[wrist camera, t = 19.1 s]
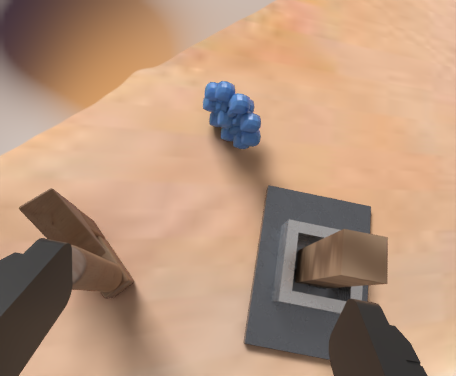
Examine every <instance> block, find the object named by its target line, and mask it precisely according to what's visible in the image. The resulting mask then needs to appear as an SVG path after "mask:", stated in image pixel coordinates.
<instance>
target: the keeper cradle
mask: <svg viewBox="0 0 456 376" xmlns="http://www.w3.org/2000/svg"><path fill="white" fill-rule="evenodd" d="M370 216H371V207H370V206H366V205H361V204H356V203H351V202H346V201H342V200H337V199H332V198H327V197H322V196H317V195H313V194H308V193H303V192H298V191H293V190H288V189H284V188H279V187H274V186H269V185H268V187H267V192H266V198H265V205H264V211H263V218H262V224H261V231H260V238H259V244H258V251H257V257H256V264H255V270H254V277H253V284H252V290H251V297H250V303H249V310H248V316H247V323H246V330H245V336H244V343H245V344H251V345H256V346H261V347H266V348H271V349H277V350H282V351H287V352H292V353H297V354H303V355H308V356H313V357H318V358H323V359H329V360H330V358H329V339H330V335H331V333H332V331H333V329H334V327H335V324H336V322H337V320H338V318H339V316H340V314H341V312H342V310H343V308H344V306H345V304H346V302H347V301H348V300H349V299H357V300H362V301H367V299H368V285H364V286H352V287H339V288H322V287H317V286H311V285H306V284H301V283H295V281H296V271H297V261H298V251H299V250H300V249H302V248H304V247H306V246H308V245H311V244H313V243H315V242H317V241H319V240H321V239H323V238H325V237H328V236H330V235H332V234H334V233H336V232H338V231H340V230H342V229H348V230H353V231H358V232H363V233H368V234H370Z"/></svg>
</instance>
